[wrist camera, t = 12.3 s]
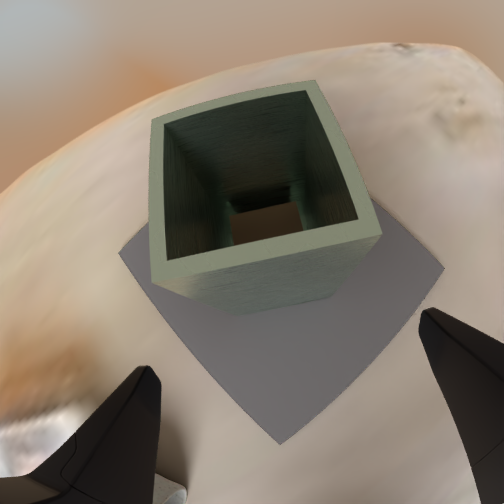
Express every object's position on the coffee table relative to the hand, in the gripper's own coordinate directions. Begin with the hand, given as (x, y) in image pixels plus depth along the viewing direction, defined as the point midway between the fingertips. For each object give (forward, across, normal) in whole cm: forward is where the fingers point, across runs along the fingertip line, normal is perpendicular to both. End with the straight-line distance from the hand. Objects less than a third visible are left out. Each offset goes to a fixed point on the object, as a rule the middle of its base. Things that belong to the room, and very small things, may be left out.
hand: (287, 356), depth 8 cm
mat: (+10, 0, +3) cm, 11 cm away
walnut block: (+10, 0, +2) cm, 10 cm away
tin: (+10, 0, +2) cm, 10 cm away
